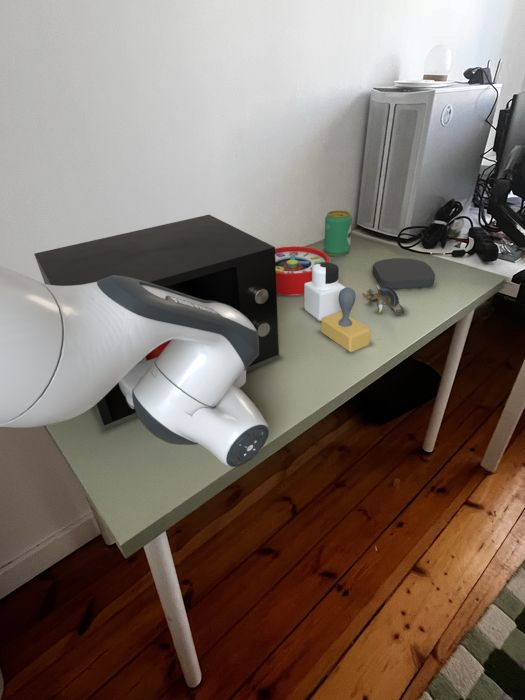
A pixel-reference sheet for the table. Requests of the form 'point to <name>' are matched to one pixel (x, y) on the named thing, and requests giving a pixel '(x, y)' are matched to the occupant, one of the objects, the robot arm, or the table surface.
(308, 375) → the table surface
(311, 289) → the medicine bottle
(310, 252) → the toy clock
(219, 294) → the toaster oven
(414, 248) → the table surface
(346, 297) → the rubber stamp
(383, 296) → the animal figurine
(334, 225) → the beverage can
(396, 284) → the media streaming box
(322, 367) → the table surface
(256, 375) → the table surface
